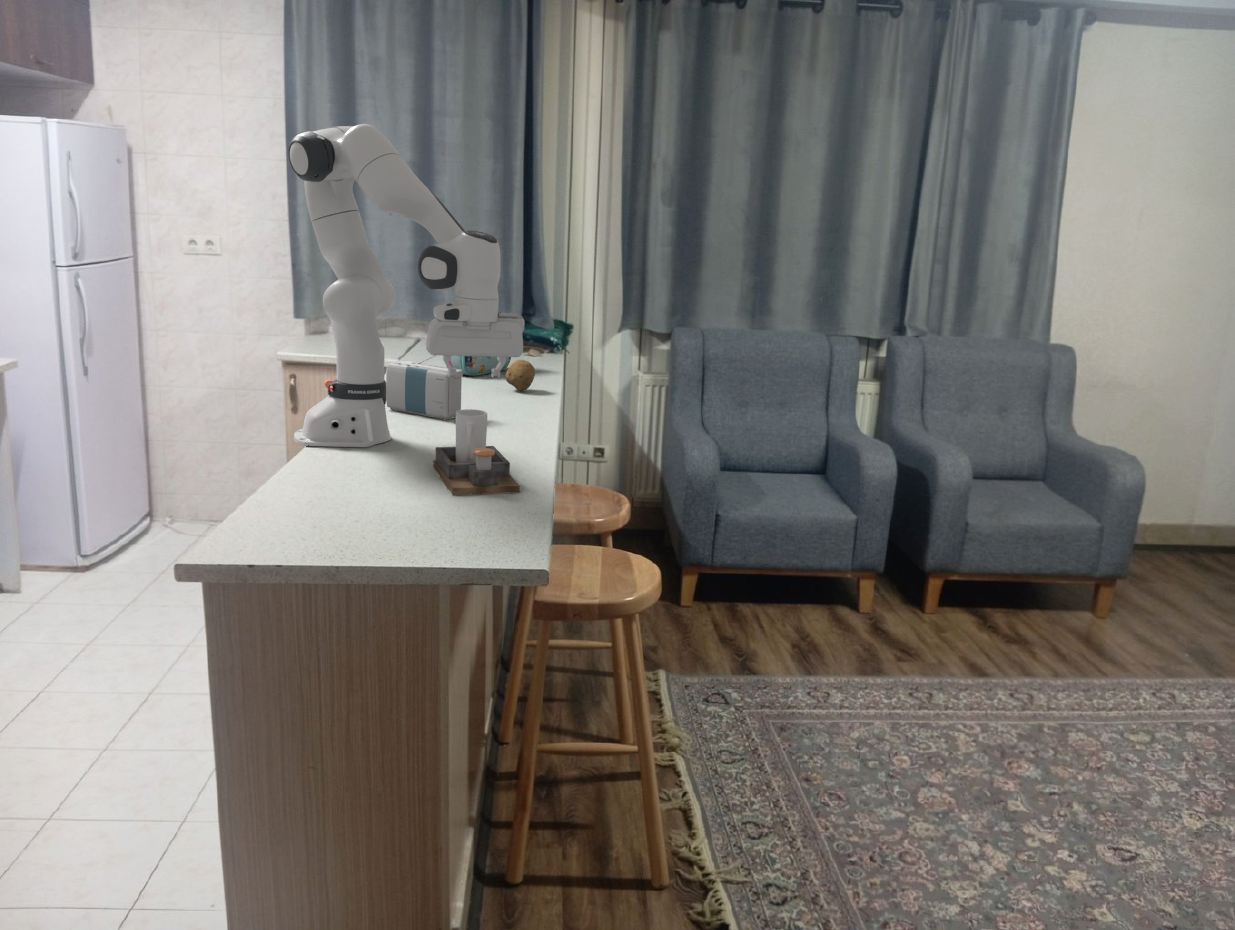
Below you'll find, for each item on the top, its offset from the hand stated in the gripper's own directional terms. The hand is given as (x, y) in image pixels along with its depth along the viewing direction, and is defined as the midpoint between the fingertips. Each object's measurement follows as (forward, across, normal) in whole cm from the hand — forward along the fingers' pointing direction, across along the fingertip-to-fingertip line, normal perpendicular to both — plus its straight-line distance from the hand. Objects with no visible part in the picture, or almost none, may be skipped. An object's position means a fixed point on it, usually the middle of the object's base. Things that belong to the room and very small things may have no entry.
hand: (473, 376), depth 214 cm
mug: (+20, 0, 0) cm, 20 cm away
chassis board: (+22, 0, +4) cm, 22 cm away
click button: (+18, 0, +11) cm, 21 cm away
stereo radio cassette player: (+22, -1, -62) cm, 66 cm away
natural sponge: (+22, -36, -93) cm, 102 cm away
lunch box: (+22, -30, -126) cm, 132 cm away
